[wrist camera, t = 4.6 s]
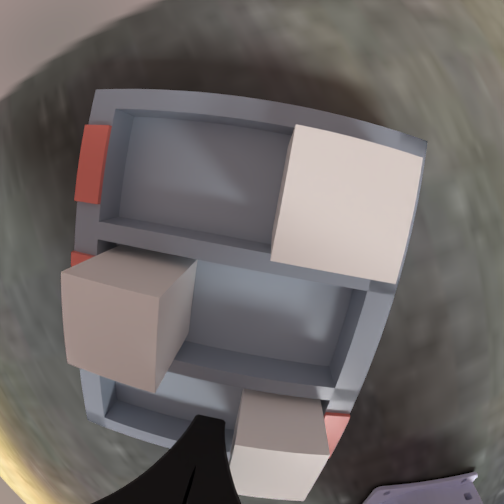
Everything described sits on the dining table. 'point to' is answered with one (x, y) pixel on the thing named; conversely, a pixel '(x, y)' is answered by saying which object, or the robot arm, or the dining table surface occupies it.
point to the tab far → (277, 445)
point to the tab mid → (127, 313)
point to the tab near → (344, 205)
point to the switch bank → (224, 257)
